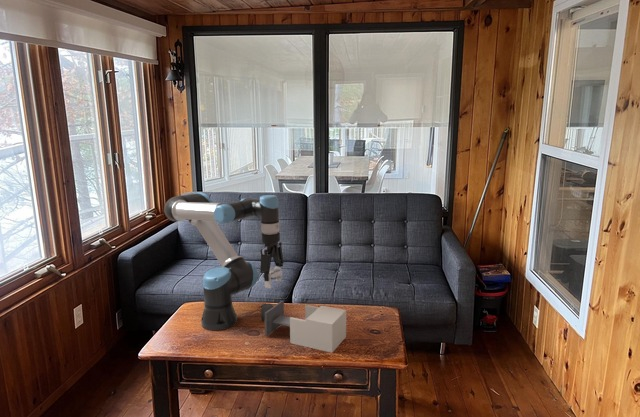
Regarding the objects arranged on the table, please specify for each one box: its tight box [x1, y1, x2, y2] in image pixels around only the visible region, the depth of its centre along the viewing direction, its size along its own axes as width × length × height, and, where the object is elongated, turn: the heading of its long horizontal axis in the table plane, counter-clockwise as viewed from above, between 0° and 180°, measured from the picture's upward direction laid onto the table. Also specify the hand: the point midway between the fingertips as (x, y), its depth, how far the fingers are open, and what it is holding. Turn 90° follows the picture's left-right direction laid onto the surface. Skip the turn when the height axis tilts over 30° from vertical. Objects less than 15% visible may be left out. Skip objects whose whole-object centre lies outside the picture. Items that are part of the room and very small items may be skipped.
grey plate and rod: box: [264, 300, 292, 337], centre depth 179 cm, size 18×14×10 cm
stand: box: [260, 303, 274, 322], centre depth 194 cm, size 6×6×6 cm
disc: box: [262, 268, 283, 280], centre depth 186 cm, size 8×8×2 cm
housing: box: [289, 304, 347, 354], centre depth 174 cm, size 18×14×12 cm
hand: (273, 284), depth 187 cm, fingers closed on disc, 8 cm apart
